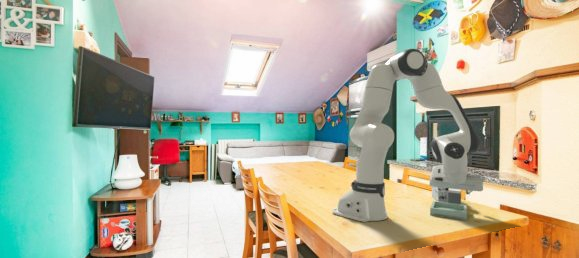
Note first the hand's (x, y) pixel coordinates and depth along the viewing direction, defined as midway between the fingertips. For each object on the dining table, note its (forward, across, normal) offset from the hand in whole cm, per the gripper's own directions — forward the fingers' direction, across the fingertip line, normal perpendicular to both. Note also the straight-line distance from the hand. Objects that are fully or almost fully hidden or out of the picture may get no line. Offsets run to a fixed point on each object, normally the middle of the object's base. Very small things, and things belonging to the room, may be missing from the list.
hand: (455, 191), depth 125 cm
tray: (-1, +2, +12) cm, 12 cm away
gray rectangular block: (+8, 0, +3) cm, 9 cm away
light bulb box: (+16, +6, -4) cm, 18 cm away
